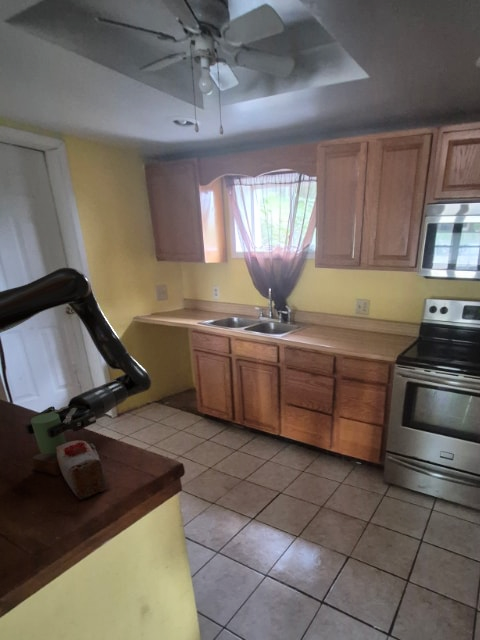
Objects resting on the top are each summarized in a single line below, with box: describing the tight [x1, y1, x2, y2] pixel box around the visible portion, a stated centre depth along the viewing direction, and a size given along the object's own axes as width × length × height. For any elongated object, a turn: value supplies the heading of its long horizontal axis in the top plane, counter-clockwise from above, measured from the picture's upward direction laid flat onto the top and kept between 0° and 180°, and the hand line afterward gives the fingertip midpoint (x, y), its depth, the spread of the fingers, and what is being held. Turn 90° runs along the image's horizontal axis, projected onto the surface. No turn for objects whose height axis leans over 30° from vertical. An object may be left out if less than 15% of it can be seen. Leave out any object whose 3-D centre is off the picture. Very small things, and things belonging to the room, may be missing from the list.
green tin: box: [30, 413, 67, 454], centre depth 88 cm, size 6×6×8 cm
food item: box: [56, 440, 108, 500], centre depth 84 cm, size 14×8×10 cm, turn 44°
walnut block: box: [31, 452, 62, 476], centre depth 91 cm, size 7×7×4 cm
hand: (38, 432), depth 85 cm, fingers closed on green tin, 5 cm apart
